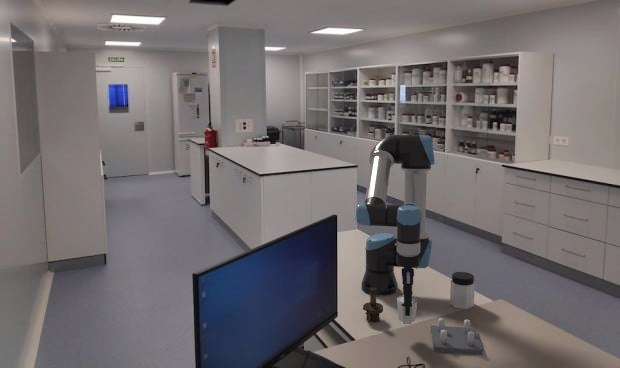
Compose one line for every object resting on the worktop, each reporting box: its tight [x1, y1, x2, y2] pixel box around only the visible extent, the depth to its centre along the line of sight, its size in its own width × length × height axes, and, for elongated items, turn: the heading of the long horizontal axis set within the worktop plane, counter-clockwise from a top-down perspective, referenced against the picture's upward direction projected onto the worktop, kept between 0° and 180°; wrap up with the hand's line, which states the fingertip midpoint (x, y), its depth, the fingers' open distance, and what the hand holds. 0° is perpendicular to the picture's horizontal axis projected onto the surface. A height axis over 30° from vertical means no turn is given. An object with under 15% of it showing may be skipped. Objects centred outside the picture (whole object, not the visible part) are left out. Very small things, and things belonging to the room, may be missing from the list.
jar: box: [449, 271, 476, 310], centre depth 194 cm, size 9×8×12 cm
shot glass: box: [396, 295, 418, 323], centre depth 168 cm, size 7×7×7 cm
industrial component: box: [362, 288, 384, 323], centre depth 183 cm, size 9×7×12 cm
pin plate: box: [430, 317, 484, 355], centre depth 166 cm, size 15×15×6 cm
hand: (406, 318), depth 169 cm, fingers closed on shot glass, 7 cm apart
